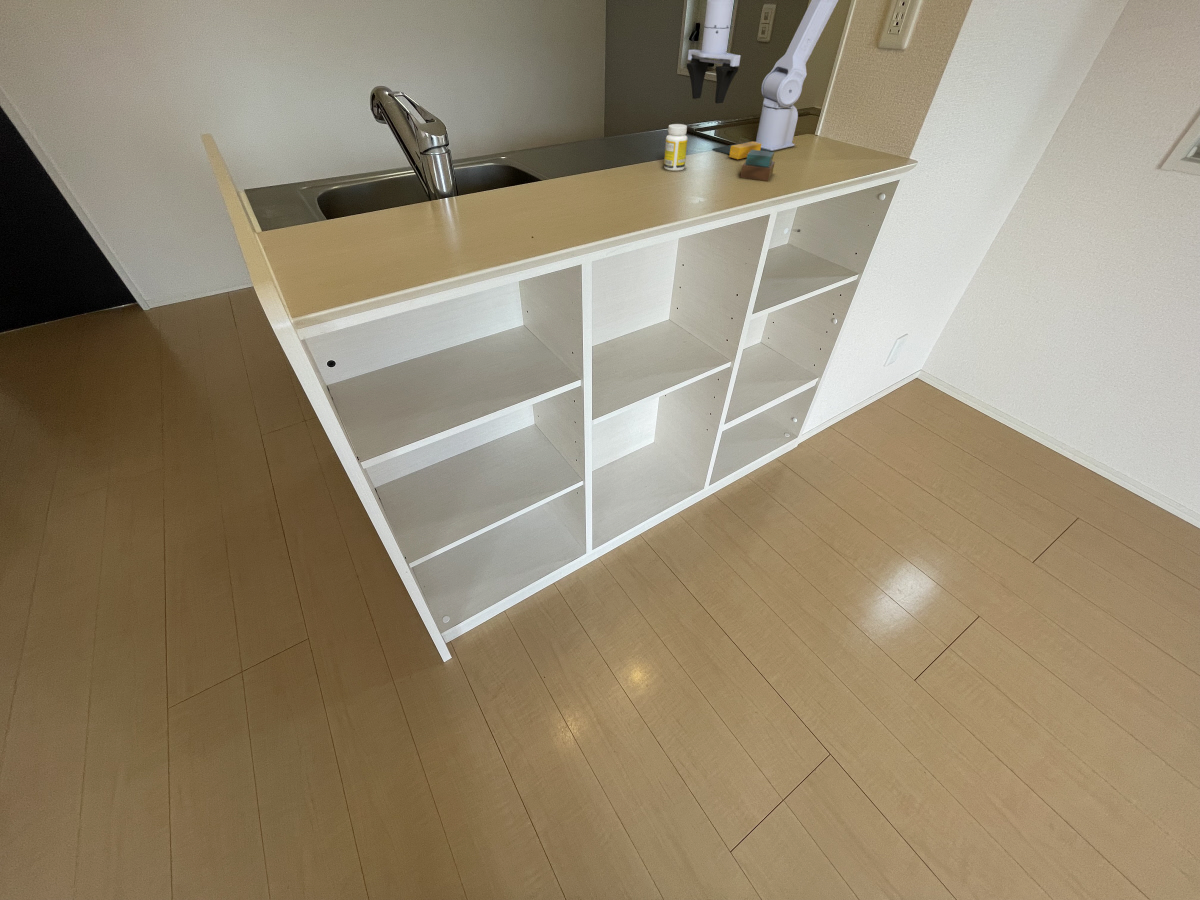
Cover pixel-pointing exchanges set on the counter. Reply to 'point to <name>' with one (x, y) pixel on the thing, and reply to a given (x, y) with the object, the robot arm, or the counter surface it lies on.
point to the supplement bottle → (675, 147)
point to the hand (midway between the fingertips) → (707, 100)
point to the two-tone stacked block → (758, 165)
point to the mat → (727, 148)
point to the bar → (743, 149)
